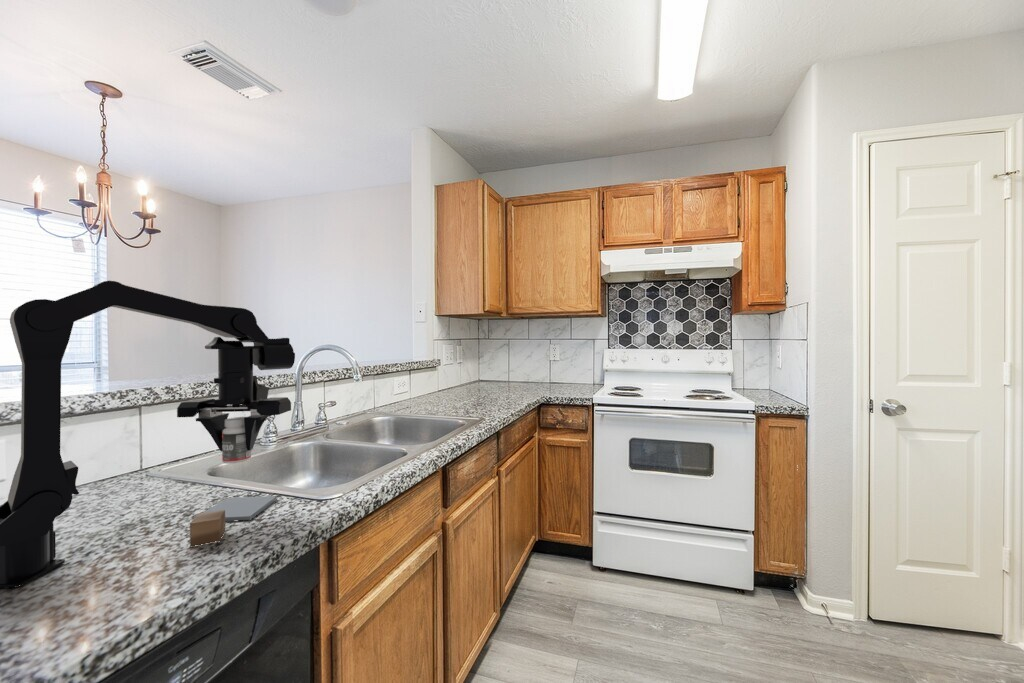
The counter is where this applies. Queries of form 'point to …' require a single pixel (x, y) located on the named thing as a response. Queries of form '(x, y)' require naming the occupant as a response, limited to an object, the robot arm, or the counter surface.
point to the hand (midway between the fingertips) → (236, 450)
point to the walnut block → (207, 527)
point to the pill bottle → (234, 441)
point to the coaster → (242, 507)
